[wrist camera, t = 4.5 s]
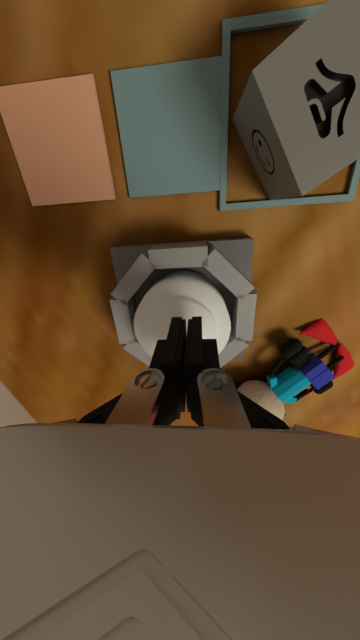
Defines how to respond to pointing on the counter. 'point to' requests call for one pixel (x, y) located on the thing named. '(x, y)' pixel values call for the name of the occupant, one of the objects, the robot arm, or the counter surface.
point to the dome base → (195, 256)
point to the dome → (181, 309)
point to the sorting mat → (138, 128)
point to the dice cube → (305, 104)
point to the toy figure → (299, 371)
